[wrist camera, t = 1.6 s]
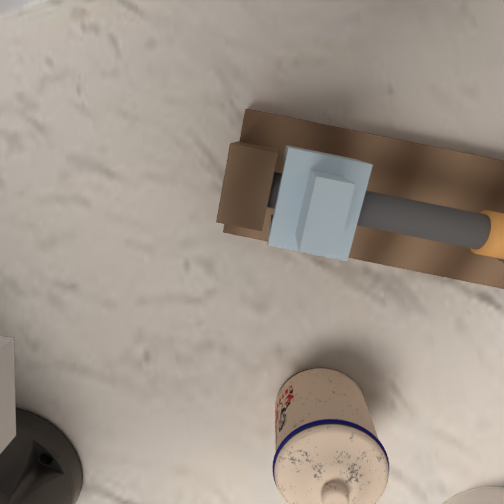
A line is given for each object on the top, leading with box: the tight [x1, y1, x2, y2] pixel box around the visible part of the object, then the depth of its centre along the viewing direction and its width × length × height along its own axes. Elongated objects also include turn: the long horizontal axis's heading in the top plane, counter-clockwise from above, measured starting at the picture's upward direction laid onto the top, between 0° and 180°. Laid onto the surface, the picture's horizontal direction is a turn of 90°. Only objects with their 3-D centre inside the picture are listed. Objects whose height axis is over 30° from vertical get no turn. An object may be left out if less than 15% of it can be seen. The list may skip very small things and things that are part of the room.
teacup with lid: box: [273, 368, 389, 504], centre depth 38 cm, size 12×9×12 cm
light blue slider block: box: [268, 145, 373, 262], centre depth 27 cm, size 5×6×10 cm
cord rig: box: [216, 109, 504, 289], centre depth 33 cm, size 25×10×10 cm, turn 79°
